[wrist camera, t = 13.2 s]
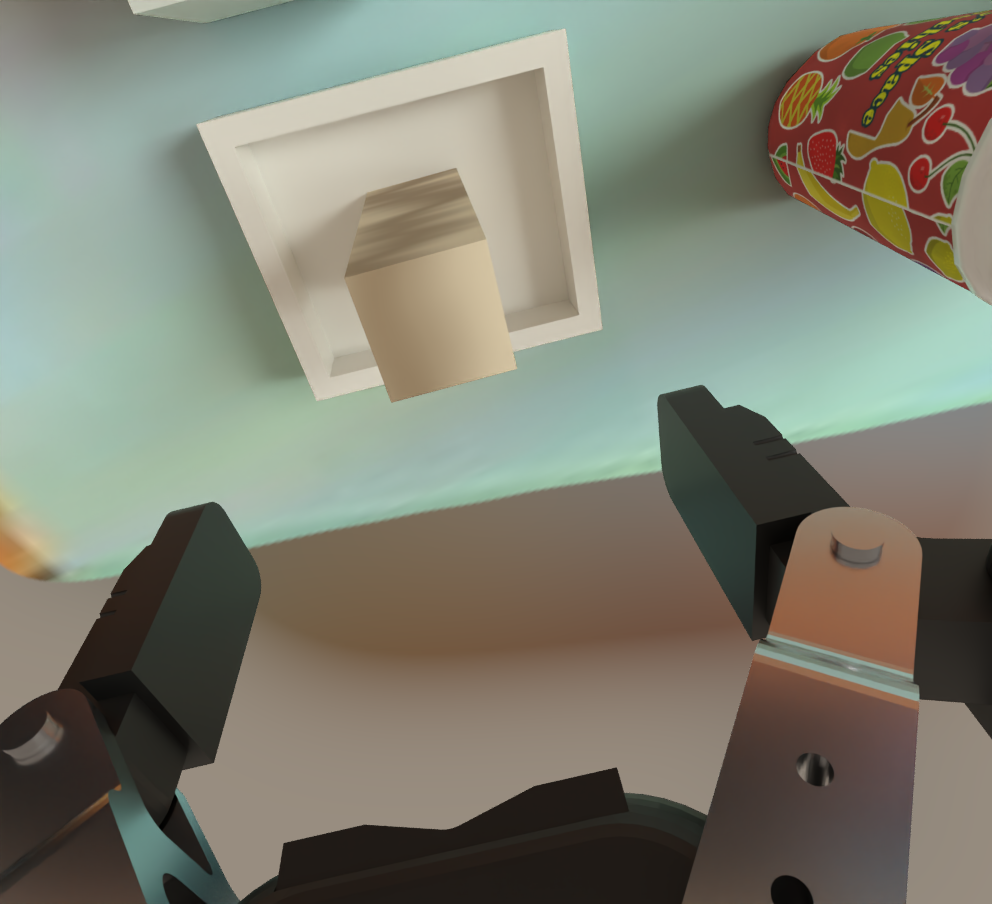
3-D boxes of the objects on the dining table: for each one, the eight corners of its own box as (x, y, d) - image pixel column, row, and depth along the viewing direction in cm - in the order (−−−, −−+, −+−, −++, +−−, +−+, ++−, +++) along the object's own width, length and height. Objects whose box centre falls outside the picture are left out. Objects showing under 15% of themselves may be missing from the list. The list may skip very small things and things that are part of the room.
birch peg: (456, 167, 27) (486, 239, 17) (478, 258, 29) (517, 368, 19) (367, 192, 27) (344, 278, 17) (396, 280, 29) (391, 402, 19)
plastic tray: (549, 30, 25) (565, 28, 22) (587, 307, 32) (602, 329, 29) (216, 116, 25) (196, 124, 23) (323, 373, 32) (316, 401, 29)
